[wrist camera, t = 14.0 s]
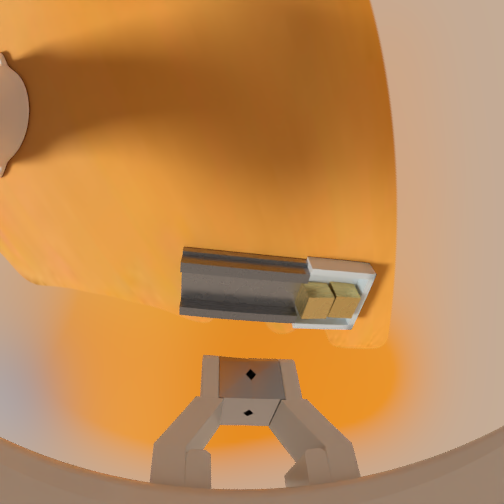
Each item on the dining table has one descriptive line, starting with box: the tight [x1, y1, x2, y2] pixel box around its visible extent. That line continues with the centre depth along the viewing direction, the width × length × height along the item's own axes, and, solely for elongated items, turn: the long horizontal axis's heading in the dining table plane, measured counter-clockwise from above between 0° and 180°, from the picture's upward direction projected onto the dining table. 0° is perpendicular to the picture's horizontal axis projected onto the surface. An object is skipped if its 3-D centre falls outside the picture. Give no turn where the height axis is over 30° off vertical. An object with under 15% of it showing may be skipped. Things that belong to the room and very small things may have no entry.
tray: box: [292, 257, 377, 329], centre depth 45 cm, size 10×11×3 cm
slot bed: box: [180, 247, 310, 323], centre depth 43 cm, size 17×10×3 cm, turn 81°
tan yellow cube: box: [295, 282, 335, 319], centre depth 43 cm, size 4×4×4 cm
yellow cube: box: [327, 281, 361, 319], centre depth 44 cm, size 4×4×4 cm
